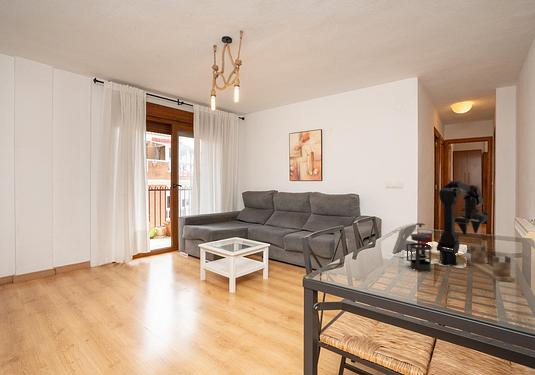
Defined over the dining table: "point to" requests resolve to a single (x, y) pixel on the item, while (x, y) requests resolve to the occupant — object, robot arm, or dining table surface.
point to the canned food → (426, 234)
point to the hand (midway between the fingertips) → (470, 233)
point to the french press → (420, 252)
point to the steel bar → (470, 256)
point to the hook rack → (498, 270)
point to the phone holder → (404, 239)
